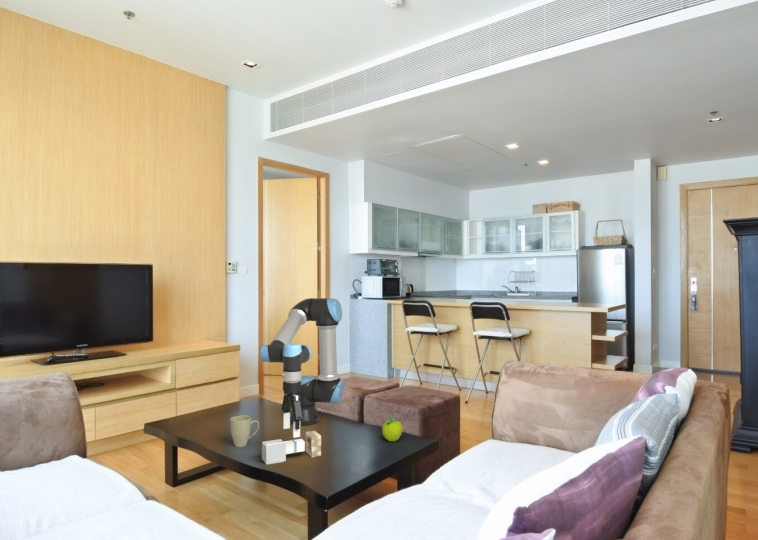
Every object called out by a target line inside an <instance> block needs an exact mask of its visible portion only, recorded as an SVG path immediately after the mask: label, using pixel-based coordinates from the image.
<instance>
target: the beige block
mask: <svg viewBox="0 0 758 540" xmlns="http://www.w3.org/2000/svg"><path fill="white" fill-rule="evenodd" d="M305 452H306V453H307V454H308V455H309V456H310V457H311V458H315V457H321V456H322V435H321V434H320V433H318V432H317V431H316V430H311V431H310V430H309V431H305Z"/></svg>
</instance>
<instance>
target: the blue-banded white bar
mask: <svg viewBox="0 0 758 540" xmlns="http://www.w3.org/2000/svg"><path fill="white" fill-rule="evenodd" d="M282 443H286V455H289V454H297V453H302V452H306V440H304V439H303V438H297V439H296V438H295V439H290V440H286V441H284V440H282V442H277V443H270V444H267V445H268V446H269V445H276V444H282Z"/></svg>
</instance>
